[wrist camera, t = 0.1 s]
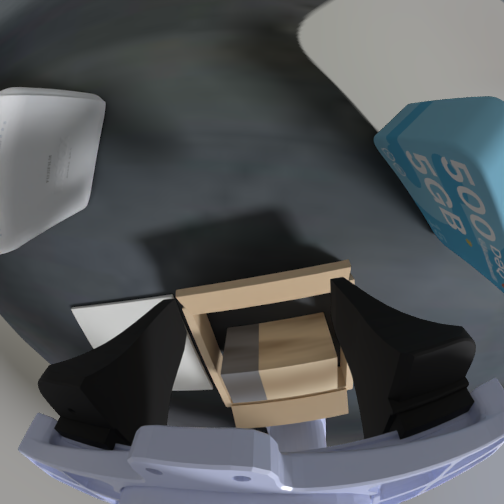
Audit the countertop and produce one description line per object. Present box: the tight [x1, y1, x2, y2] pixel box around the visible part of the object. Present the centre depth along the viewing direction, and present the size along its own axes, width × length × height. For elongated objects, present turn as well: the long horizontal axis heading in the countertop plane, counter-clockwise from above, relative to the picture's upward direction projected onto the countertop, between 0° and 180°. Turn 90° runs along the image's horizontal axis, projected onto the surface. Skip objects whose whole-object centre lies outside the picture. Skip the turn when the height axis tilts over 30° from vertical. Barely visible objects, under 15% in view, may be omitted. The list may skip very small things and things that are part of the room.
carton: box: [176, 260, 354, 428], centre depth 23 cm, size 18×13×5 cm
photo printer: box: [0, 87, 106, 254], centre depth 13 cm, size 10×4×12 cm, turn 162°
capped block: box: [220, 312, 337, 403], centre depth 23 cm, size 4×9×6 cm, turn 102°
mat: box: [71, 294, 213, 391], centre depth 27 cm, size 13×13×1 cm
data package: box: [374, 96, 504, 293], centre depth 14 cm, size 12×4×12 cm, turn 46°
